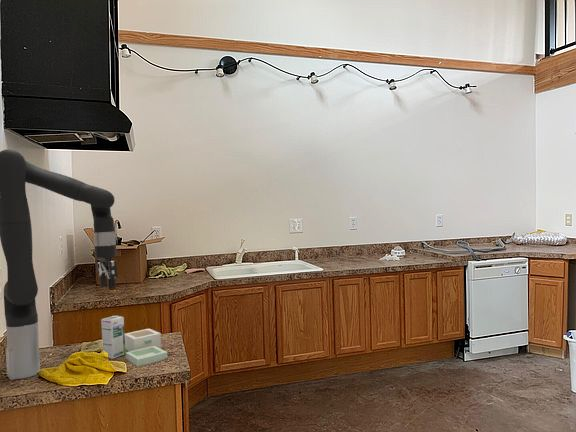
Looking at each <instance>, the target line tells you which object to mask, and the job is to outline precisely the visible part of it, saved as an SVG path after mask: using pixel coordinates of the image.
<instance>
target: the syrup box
mask: <svg viewBox="0 0 576 432" xmlns="http://www.w3.org/2000/svg"><path fill="white" fill-rule="evenodd" d="M100 321H101V322H100V323H101V336H102V337H101V341H102V352H103V351H105V352H107V353H108V356H109V358H108V359H113V360H114V359H116V358H118V357H121V356H124V355H125V356H126V352H127V351H126V350H125V334H126V333H125V318H124V316H122V315H112V316H109V317H105V318H102V319H100Z"/></svg>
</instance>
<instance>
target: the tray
mask: <svg viewBox="0 0 576 432" xmlns="http://www.w3.org/2000/svg"><path fill="white" fill-rule="evenodd" d="M125 352H126V354H125V360H126V361H127V362H130V363H131V364H133V365H134V366H136V367H138V368H139V367H141V366H146V365H150V364H153V363H158V362H161V361H165V360H168V359H169V357H168V352H167V351H166V350H163V349H162V348H161V349H160V348H158V347H156V346H151V347H147V348H143V349H139V350H134V351H130V352H128V351H125Z"/></svg>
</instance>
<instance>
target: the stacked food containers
mask: <svg viewBox="0 0 576 432" xmlns="http://www.w3.org/2000/svg"><path fill="white" fill-rule="evenodd" d="M151 346H156V347H158V348H160V349H162V334H161V332H159V331H156V330H154V329H153V328H152V329H151V328H145V329H140V330H136V331H135V330H134V331H132V332H127V333H125V352H130V351H134V350H139V349H143V348H147V347H151Z"/></svg>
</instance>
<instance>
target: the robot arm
mask: <svg viewBox="0 0 576 432" xmlns="http://www.w3.org/2000/svg"><path fill="white" fill-rule="evenodd" d="M26 184H31V185H35V186H37V187H40V188H43V189H44V190H45V189H46V190H48V191H50V192H52V193H56V194H58V195H61V196H63V197H66V198H68V199H71V200H74V201H77V202H83V203H85V204H88V205H90V208H91V214H92V218H93V247H94V251H93V252H94V257H95V258H96V274H97V275H98V277H99V286H100V287H107V286H108V289H109V290H113V289H115V288H116V281H115V280H116V278H117V277H118V267H117V260H113V258H114V257H116V256H117V241H116V238H117V237H116V233H115V221H114V218H113V216H112V213H111V211H112V209H111V208H112V207H113V205H114V204H115V196H114V194H113V193H112V192H111V191H109V190H106V189H104V188H100V187H97V186H94V185H90V184H87V183H85V182H83V181H81V180H79V179H76V178H72V177H71V176H67V175H65V174H61V173H57V172H54V171H50V170H47V169H43V168H41V167H39V166H36V165H34V164H32V163H31V162H28V161H26V159H25V157H24V156H23V154H21V152H19V151H17V150H16V149H8V148H7V149H3V150H1V151H0V244H1V248H2V252H3V254H4V259H5V261H6V267H7V281H6V282H5V284H4V286H3V304H4V305H3V307H4V318H5V325H6V326H5V327H6V332H5V333H6V347H5V359H6V361H5V362H6V376H7V377H8V379H9V380H10V381H13V380H22V379H27V378H31V377H34V376H36V375H38V374H39V373H38V371H39V370H40V371H41V365H40V364H41V361H40V359H41V358H40V339H39V318H38V316H39V315H38V310H37V303H36V297H37V296H38V291H39V287H38V283H37V278H36V273H35V269H34V263H33V232H32V231H33V230H32V221H31V214H30V213H31V212H30V207H29V203H28V198H27V192H26V191H27V190H26ZM37 373H38V374H37Z"/></svg>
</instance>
